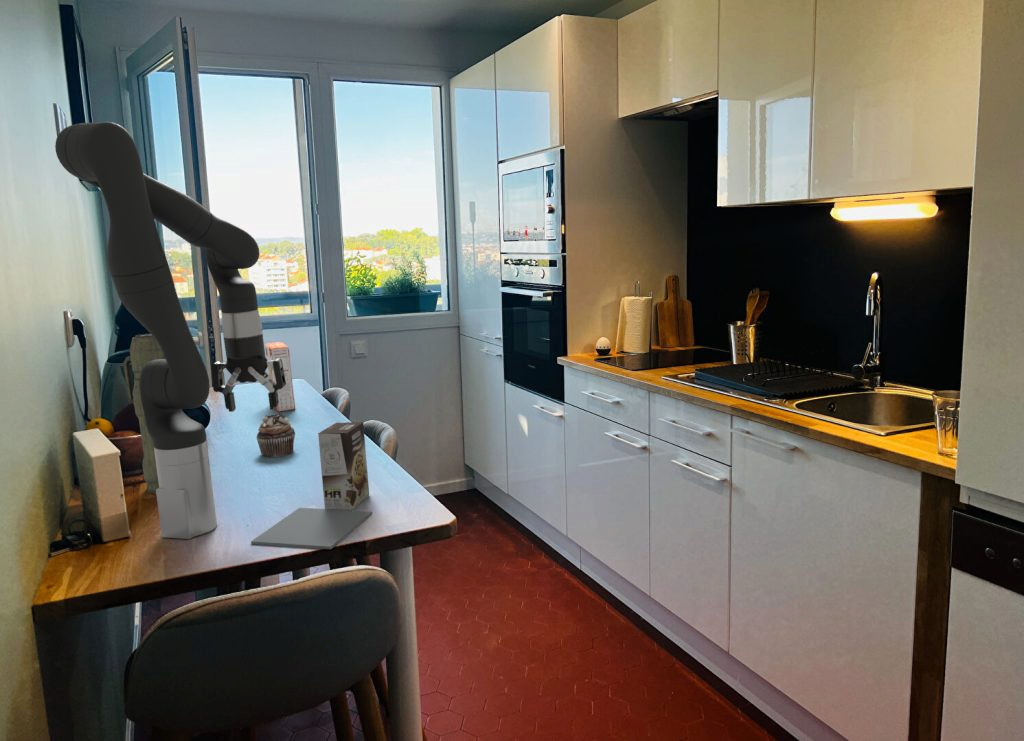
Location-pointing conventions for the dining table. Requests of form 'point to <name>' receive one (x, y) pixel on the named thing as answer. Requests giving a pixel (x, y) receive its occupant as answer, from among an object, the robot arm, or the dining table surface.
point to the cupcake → (275, 436)
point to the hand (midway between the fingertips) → (253, 409)
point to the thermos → (141, 353)
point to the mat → (313, 528)
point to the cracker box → (286, 392)
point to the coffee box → (343, 465)
